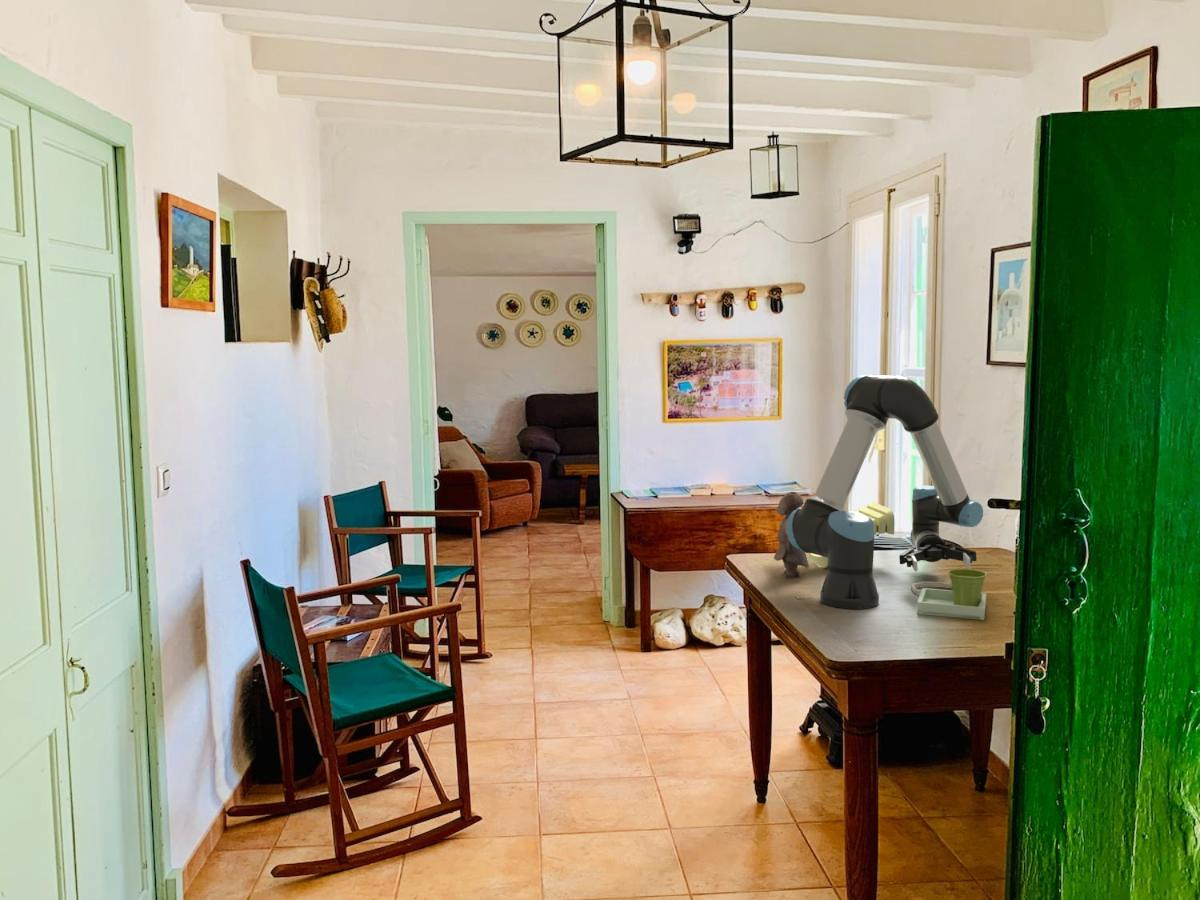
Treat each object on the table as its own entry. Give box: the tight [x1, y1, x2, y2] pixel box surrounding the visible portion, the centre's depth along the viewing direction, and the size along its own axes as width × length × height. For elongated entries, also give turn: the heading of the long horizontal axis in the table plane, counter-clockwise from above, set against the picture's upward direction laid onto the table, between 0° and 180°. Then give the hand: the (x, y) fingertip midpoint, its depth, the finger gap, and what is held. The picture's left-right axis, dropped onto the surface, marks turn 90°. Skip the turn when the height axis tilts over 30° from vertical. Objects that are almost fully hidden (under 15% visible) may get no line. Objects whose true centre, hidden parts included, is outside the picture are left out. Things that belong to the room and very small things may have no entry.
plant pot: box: [947, 568, 987, 607], centre depth 266 cm, size 9×9×9 cm
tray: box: [916, 587, 987, 621], centre depth 266 cm, size 16×16×3 cm
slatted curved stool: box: [807, 501, 895, 569], centre depth 318 cm, size 30×16×18 cm, turn 99°
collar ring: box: [910, 581, 952, 596], centre depth 284 cm, size 14×14×1 cm
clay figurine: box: [773, 491, 809, 579], centre depth 301 cm, size 13×10×25 cm
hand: (942, 564), depth 275 cm, fingers open, 13 cm apart
